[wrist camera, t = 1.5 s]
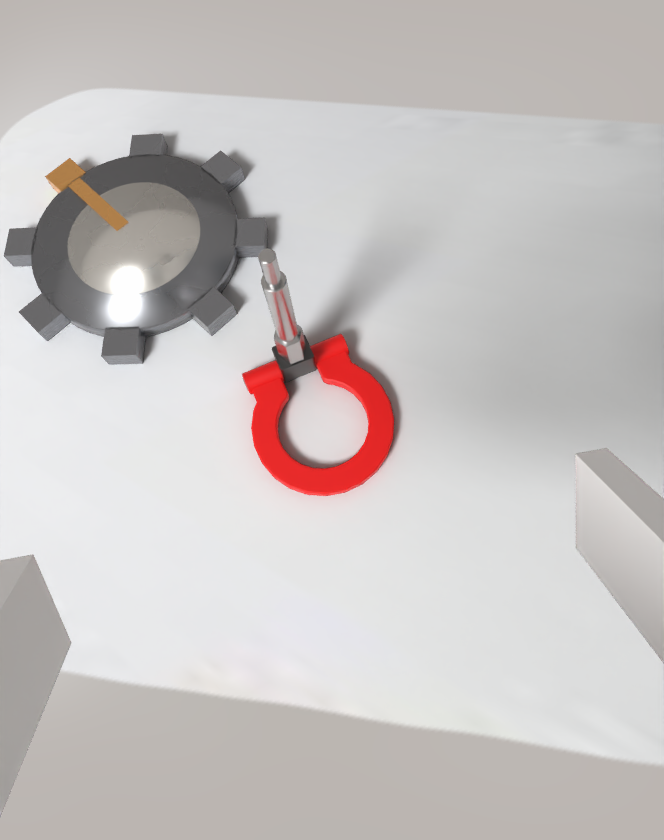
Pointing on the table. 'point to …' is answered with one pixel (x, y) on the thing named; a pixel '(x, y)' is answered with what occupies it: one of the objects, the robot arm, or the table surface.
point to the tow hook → (334, 370)
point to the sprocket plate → (136, 247)
